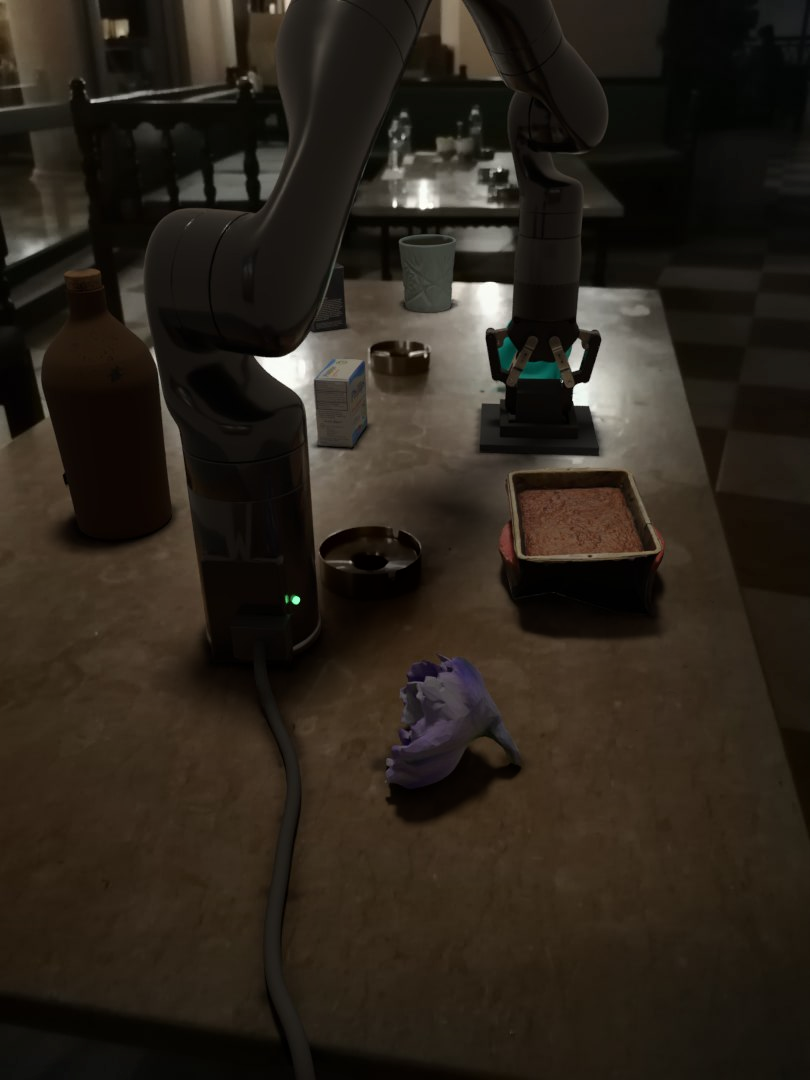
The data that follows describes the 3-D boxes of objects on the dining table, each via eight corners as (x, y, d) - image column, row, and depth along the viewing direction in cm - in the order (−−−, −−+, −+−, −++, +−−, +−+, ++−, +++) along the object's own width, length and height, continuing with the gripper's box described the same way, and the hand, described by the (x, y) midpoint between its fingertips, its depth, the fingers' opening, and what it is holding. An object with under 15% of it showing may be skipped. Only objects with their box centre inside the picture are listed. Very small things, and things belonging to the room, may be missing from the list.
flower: (545, 646, 62) (417, 612, 58) (562, 766, 56) (424, 737, 53) (473, 703, 68) (353, 676, 64) (483, 815, 63) (353, 793, 59)
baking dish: (488, 637, 78) (501, 546, 71) (499, 515, 92) (510, 430, 85) (658, 658, 77) (686, 568, 70) (642, 532, 91) (665, 447, 84)
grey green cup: (464, 304, 168) (465, 237, 163) (437, 316, 161) (437, 247, 155) (418, 297, 173) (417, 232, 167) (389, 309, 166) (388, 241, 160)
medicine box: (352, 449, 109) (349, 379, 105) (317, 446, 110) (312, 377, 106) (368, 425, 116) (366, 359, 112) (334, 422, 116) (331, 357, 112)
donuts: (492, 393, 126) (494, 321, 121) (502, 370, 134) (505, 303, 129) (564, 398, 124) (570, 326, 119) (570, 375, 132) (576, 306, 127)
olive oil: (199, 507, 96) (166, 264, 84) (133, 552, 87) (87, 290, 75) (119, 489, 99) (77, 256, 87) (48, 531, 91) (-8, 279, 79)
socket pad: (598, 455, 107) (600, 435, 105) (479, 452, 108) (480, 432, 107) (588, 412, 119) (590, 394, 118) (481, 410, 120) (482, 392, 119)
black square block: (561, 425, 110) (563, 393, 108) (515, 424, 110) (517, 392, 108) (558, 409, 115) (560, 378, 113) (514, 408, 115) (516, 378, 113)
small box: (292, 317, 161) (287, 257, 156) (326, 313, 164) (323, 253, 159) (312, 332, 153) (308, 269, 148) (348, 327, 155) (345, 265, 150)
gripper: (483, 281, 101) (479, 423, 109) (613, 282, 100) (599, 426, 108) (484, 266, 108) (480, 401, 116) (606, 268, 107) (593, 404, 115)
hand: (537, 412), depth 112 cm, fingers closed on black square block, 5 cm apart
